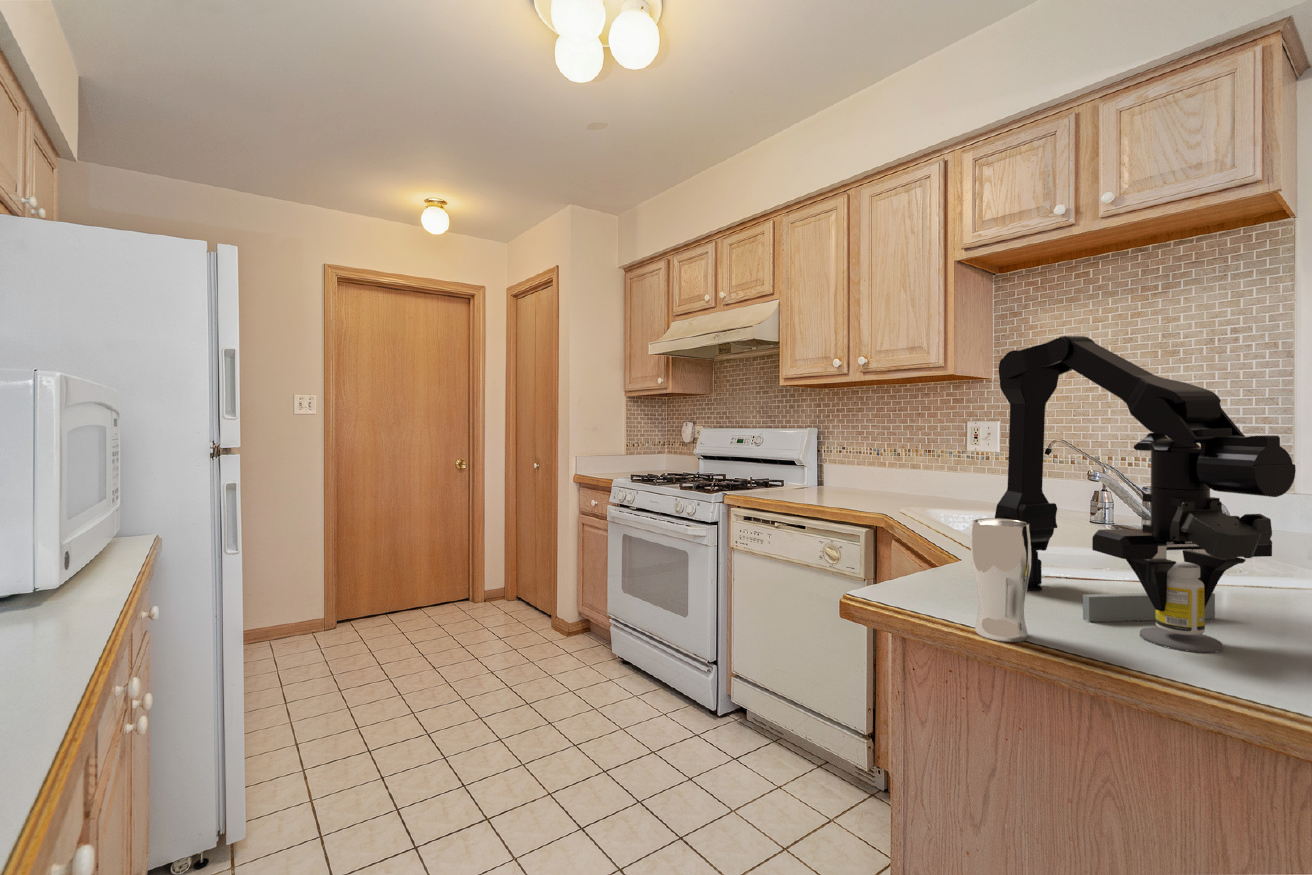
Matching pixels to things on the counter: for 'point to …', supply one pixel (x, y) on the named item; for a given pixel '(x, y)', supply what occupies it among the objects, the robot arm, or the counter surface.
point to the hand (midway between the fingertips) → (1179, 609)
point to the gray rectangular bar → (1127, 607)
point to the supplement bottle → (1183, 601)
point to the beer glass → (1001, 577)
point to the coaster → (1181, 640)
